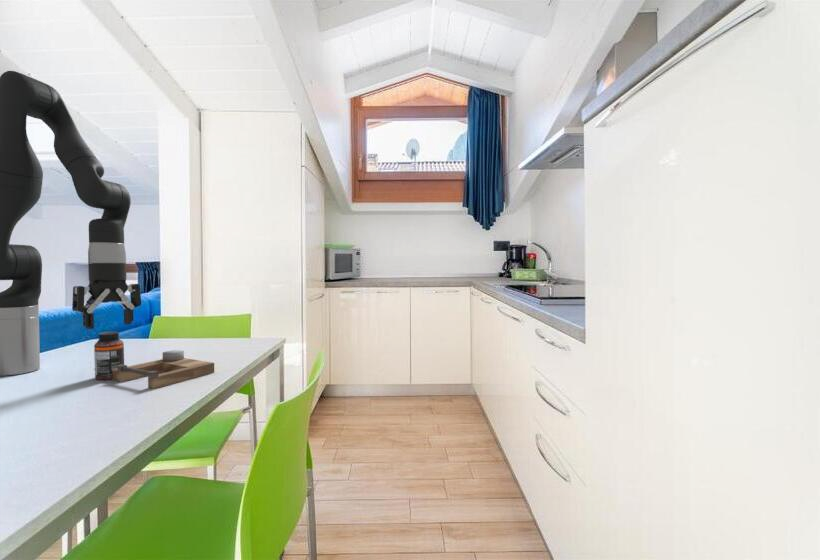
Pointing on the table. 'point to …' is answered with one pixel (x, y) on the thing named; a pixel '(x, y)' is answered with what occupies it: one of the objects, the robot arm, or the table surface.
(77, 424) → the table surface
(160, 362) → the notched board
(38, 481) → the table surface
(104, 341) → the supplement bottle
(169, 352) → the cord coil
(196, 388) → the table surface
